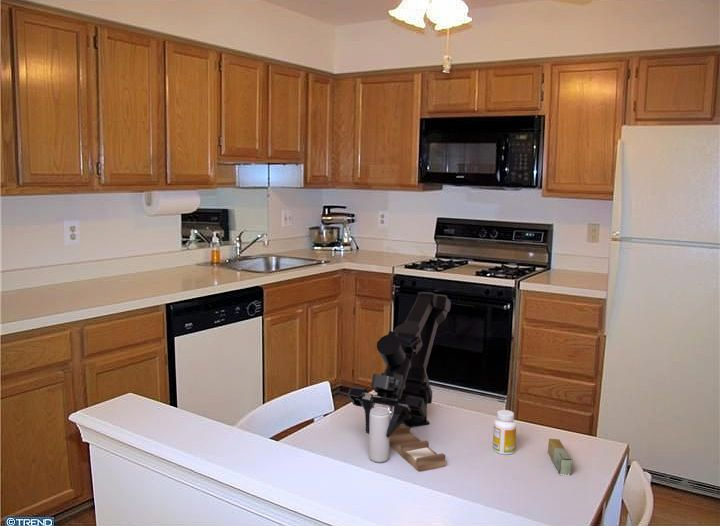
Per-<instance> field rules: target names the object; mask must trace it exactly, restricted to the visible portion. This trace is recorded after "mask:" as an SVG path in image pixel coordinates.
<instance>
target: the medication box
mask: <svg viewBox="0 0 720 526" xmlns="http://www.w3.org/2000/svg"><path fill="white" fill-rule="evenodd" d="M548 454H549V455H548ZM547 455H548V457H549V456H550V457H549V458H551V459H550V461H551V463H552V464H553V466H554V468H555V470H556V469H557V470H556V472H557V471H558V472H557V474H558V473H559V474H564V475H565V474H566V475H568V474H571V473H572V464H573V459H572V457H571V456H570V454H569V453H568V451H567V449H566V447H565V446H564V445H563V443H562V440H560V439H559V438H548V445H547ZM559 474H558V475H559Z"/></svg>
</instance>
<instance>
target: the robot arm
mask: <svg viewBox="0 0 720 526" xmlns="http://www.w3.org/2000/svg"><path fill="white" fill-rule="evenodd" d="M415 299H416V300H415V303H414V304H413V306H412V308H411V310H410V312H409V313H408V316H407V318H406V320H405V321H404V322H403V323H401V324H399V325H397V326H396V327H395V328H394V330H393V331H391V330H389V331H388V334H386V335H384V336H382V337H380V339H378V341H377V343H376V349H377V351H378V354H379V356H380V357H381V359H382V361H383V363H384V365H385V368H384V371H383V372H381V374H378V373H377V374H376V373H373V374H372V378H371V385H370V388H373V391H374V393H377V394H372V393H369V391H368V389H367V388H366V387H360V386H354V385H353V386H351V388H349V391H348V393H347V397H348V398H349V400H350V401H351V403H352V405H354V406H355V407H359V408H361V407H362V408H363V410H364V415H365V418H364V419H365V433H366V434H369V419H370V410H371V409H372V408H375V405H376V404H377V405H381V406H382V405H388V406H394V413H393V416H392V419H391V421H390V424H389V427H388V430H387V434H386V436H387V437H388V438H389V437H390V436H391V434H392V433H393V432H394V431H395V430H396V429H397V428H398V426H399V425H402V424H404V425H405V427H407V426H408V427H410V428H413V427H420V426H425V425H429V424H430V421H429V420H428V419H427V418H428V417H427V416H428V415H427V412H428V404H432V402H433V389H432V388H431V385H430V384H429V383H430V379H429V377H428V374H427V368H428V364H429V359H430V357H431V352H432V349H433V346H434V340H435V338H436V337H435V336H436V333H437V331H438V330H437V329H438V327H439V325H440V324H441V323H443V322H444V321H445V320H446V318H447V316H448V313H449V312H450V310H451V307H452V306H451V304H452V302H451V299H449V298H448V296H447V295H446V294H437V293H434V292H427V291H426V292H425V291H420V292H417V294H416V298H415ZM408 355H411V358H410V357H409V356H408Z"/></svg>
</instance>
